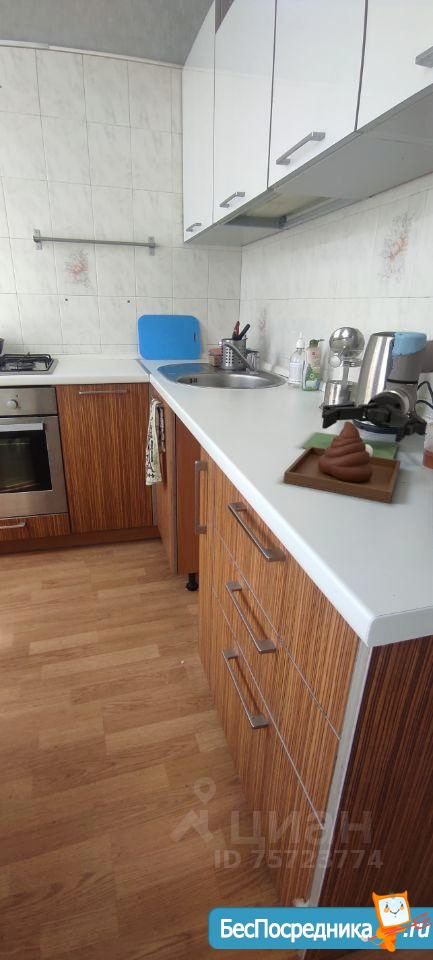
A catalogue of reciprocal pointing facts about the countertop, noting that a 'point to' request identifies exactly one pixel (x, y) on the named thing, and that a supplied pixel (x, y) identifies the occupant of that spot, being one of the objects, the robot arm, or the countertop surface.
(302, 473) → the tray
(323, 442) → the mat
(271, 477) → the countertop surface
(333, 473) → the poop emoji
